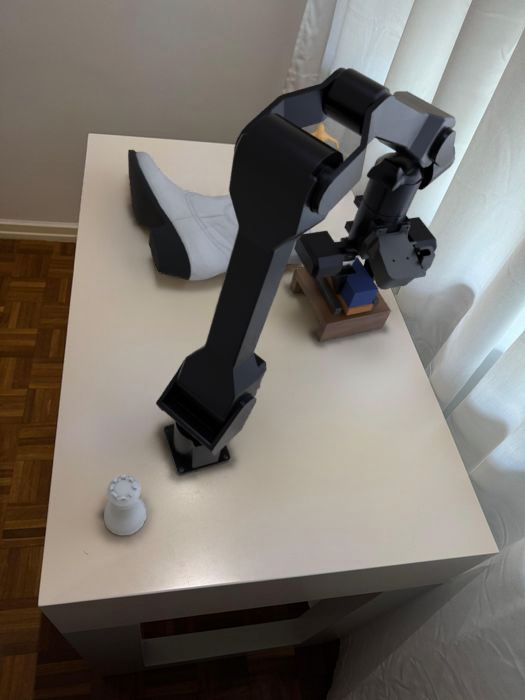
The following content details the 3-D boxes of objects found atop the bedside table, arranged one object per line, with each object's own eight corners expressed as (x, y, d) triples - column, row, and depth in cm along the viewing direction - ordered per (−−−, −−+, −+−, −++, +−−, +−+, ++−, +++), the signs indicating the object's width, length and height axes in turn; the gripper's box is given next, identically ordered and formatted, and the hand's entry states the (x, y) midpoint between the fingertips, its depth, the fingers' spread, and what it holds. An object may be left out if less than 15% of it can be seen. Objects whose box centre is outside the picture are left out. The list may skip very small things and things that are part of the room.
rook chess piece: (131, 489, 64) (130, 457, 58) (154, 520, 63) (155, 490, 56) (95, 513, 62) (90, 482, 56) (119, 545, 60) (116, 517, 54)
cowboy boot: (158, 258, 75) (329, 241, 83) (120, 122, 88) (272, 119, 96) (155, 301, 83) (311, 282, 91) (121, 171, 96) (261, 164, 104)
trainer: (370, 310, 81) (380, 290, 78) (346, 315, 80) (355, 295, 76) (342, 266, 86) (350, 245, 82) (319, 270, 84) (326, 249, 81)
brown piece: (382, 328, 85) (395, 303, 81) (319, 342, 82) (329, 317, 77) (349, 275, 91) (360, 249, 87) (289, 286, 87) (297, 260, 83)
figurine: (325, 173, 107) (342, 114, 97) (329, 194, 103) (348, 134, 94) (281, 168, 105) (295, 108, 96) (284, 189, 102) (298, 128, 92)
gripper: (348, 259, 62) (314, 346, 74) (483, 236, 68) (431, 320, 81) (306, 193, 68) (281, 284, 80) (435, 178, 74) (393, 264, 86)
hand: (349, 289), depth 82 cm, fingers closed on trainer, 4 cm apart
